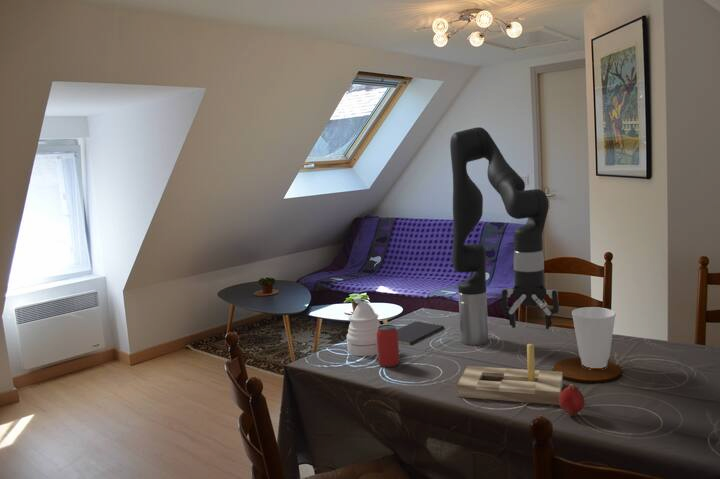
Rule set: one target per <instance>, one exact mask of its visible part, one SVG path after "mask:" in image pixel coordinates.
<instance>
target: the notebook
mask: <svg viewBox="0 0 720 479" xmlns="http://www.w3.org/2000/svg"><path fill="white" fill-rule="evenodd" d="M444 328H445V326H444V325H442V324H434V323H429V322H422V321H412V322H410V323H409V324H406V325H404V326H403V327H400V328H396V330H397V333H398V344H404V345H409V346H411V345H414V344H416V343H418V342H420V341H422V340H423V339H426V338H428V337H430V336H432V335H433V334H436V333H438V332H440V331H442V330H444Z"/></svg>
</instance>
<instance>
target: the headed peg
mask: <svg viewBox="0 0 720 479" xmlns="http://www.w3.org/2000/svg"><path fill="white" fill-rule="evenodd" d="M526 357H527V358H526V359H527V361H526V362H527V370H528V381H530V382H535V370H536V369H535V366H536V365H535V364H536V363H535V362H536V361H535V344H533V343H527V344H526Z"/></svg>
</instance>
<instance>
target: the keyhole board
mask: <svg viewBox="0 0 720 479" xmlns="http://www.w3.org/2000/svg"><path fill="white" fill-rule="evenodd" d="M563 373H564V372H563V371H553V370H538V369H535V382H530V381H528V369H520V368H519V369H518V368H507V367H505V368H504V367H488V366H473V365H471V366H470V365H467V366H466V368H465V369H464V371H463V374H462V375H461V376H460V378H459V380H458V382H457V385H456V388H457V391H456V392H457V397H458V398H468V399H469V398H470V399H483V400H494V401H496V400H498V401H508V402H509V401H510V402H519V403H531V404H544V405H545V404H546V405H557V406H560V403H559V396H560V394H561V392H562V391H563V384H564V381H563V380H564V377H563V376H564V375H563Z"/></svg>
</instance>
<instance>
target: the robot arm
mask: <svg viewBox="0 0 720 479" xmlns="http://www.w3.org/2000/svg"><path fill="white" fill-rule="evenodd" d="M449 141H450V142H449V143H450V145H449V149H450V150H449V151H450V158H451V161H450V162H451V170H452V215H453V216H452V218H453V219H452V220H453V239H452V259H451V260H452V261H451V262H452V266H453V267H452V268H453V270H454V271H455V272H456V273H473V272H475V273H474V274H473V275H472V276H471V277H469V278H467V279H465V280H463V281H460V282H459V283H458V287H457V290H458V293H457V294H458V308H459V312H458V313H459V330H460V331H459V333H460V342H461V343H462V344H464V345H471V346H478V345H484V344H487V343H488V342H489V327H488V326H489V325H488V323H489V322H488V321H489V320H488V298H487V279H486V278H487V277H486V276H487V273H486V272H487V271H486V269H487V268H486V267H487V266H486V265H487V264H486V263H487V255H486V248H485V246H484V245H483V244H482V243H469V244H465V243H466V240H467V238H468V237H469V235H470V234H471V233H472V231H473V230H474V229H475V227H476V226H478V224H479V222H480V220H481V219H482V217H483V213H484V210H483V207H484V205H483V204H484V202H483V201H484V199H483V198H484V197H483V194H482V191H481V190H480V188H479V187H478V186H477V185H476V183H475V182H474V181H473V180H472V178H471V177H470V176H469V173H468V170H467V165H468V163H469V162H474V161H478V160H480V159H486V160H487V161H488V167H487V172H486V173H487V179H488V182H489V183H490V185H491V187H492V188H493V189H494V190H495V191H496V192H497V193H498V194H499V196H500V197H501V200H502V202H503V205H504V208H505V211H506V214H508V216H509V217H512V218H513V219H515V220H516V219H517V220H521V219H527V221H526V223H525V224H524V225H522V226H520V227H517V228H516V229H515V230H514V232H513V248H514V250H513V252H514V254H513V276H514V277H513V279H514V280H513V281H514V282H513V284H514V287H513V288H511V289H510V288H508V287H504V288H503V290H501V291H502V292H501V296H502V297H501V311H502V312H503V313H507V314H508V315H509V325H510V326H511V328H514V329H515V328H516V326H517V322H516V320H517V319H516V310H517V309H518V308H519V307H520V305H522V306H523V307H536V306H538V307H539V308H540V309H541V310H543V312H544V313H545V329H546V330H549V329H550V328H551V327H552V325H553V315H554V314H558V313H559V310H560V307H559V294H558V288H556V287H555V288H553V289H546V287H545V259H544V252H543V232H544V228H545V223H546V220H547V216H548V212H549V199H548V196H547V194H546V193H545V191H544V190H542V189H537V188H536V189H535V188H534V189H527V190H526V183H525V181H524V179H523V177H522V176H521V175H519V174H518V173H517V172H516V171H515V169H513V167H511V166H510V164H509V162H507V161H506V159H505V157H504V156H503V154H502V152H501V151H500V149H499V147H498V146H497V144H496V143H495V141H494V139H493V137H492V136H491V134H490V133H489V132H488V131H487V130H486V129H485V128H484V127H481V126H480V127H479V126H477V127H472V128H469V129H464V130H461V131H457V132H454V133H453V134H452V135H451V137H450V140H449ZM511 295H512V296H514V297H515V299H516V300H515V302H513V304H512V306H511V307H510V306H509V305H508V304H509V299H508V298H510V297H511ZM546 295H548V297H549V298H550V299H551V300H552V307H550V305H549V304H548V303H547V301H546V300H545V299H544V298H546Z"/></svg>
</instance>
